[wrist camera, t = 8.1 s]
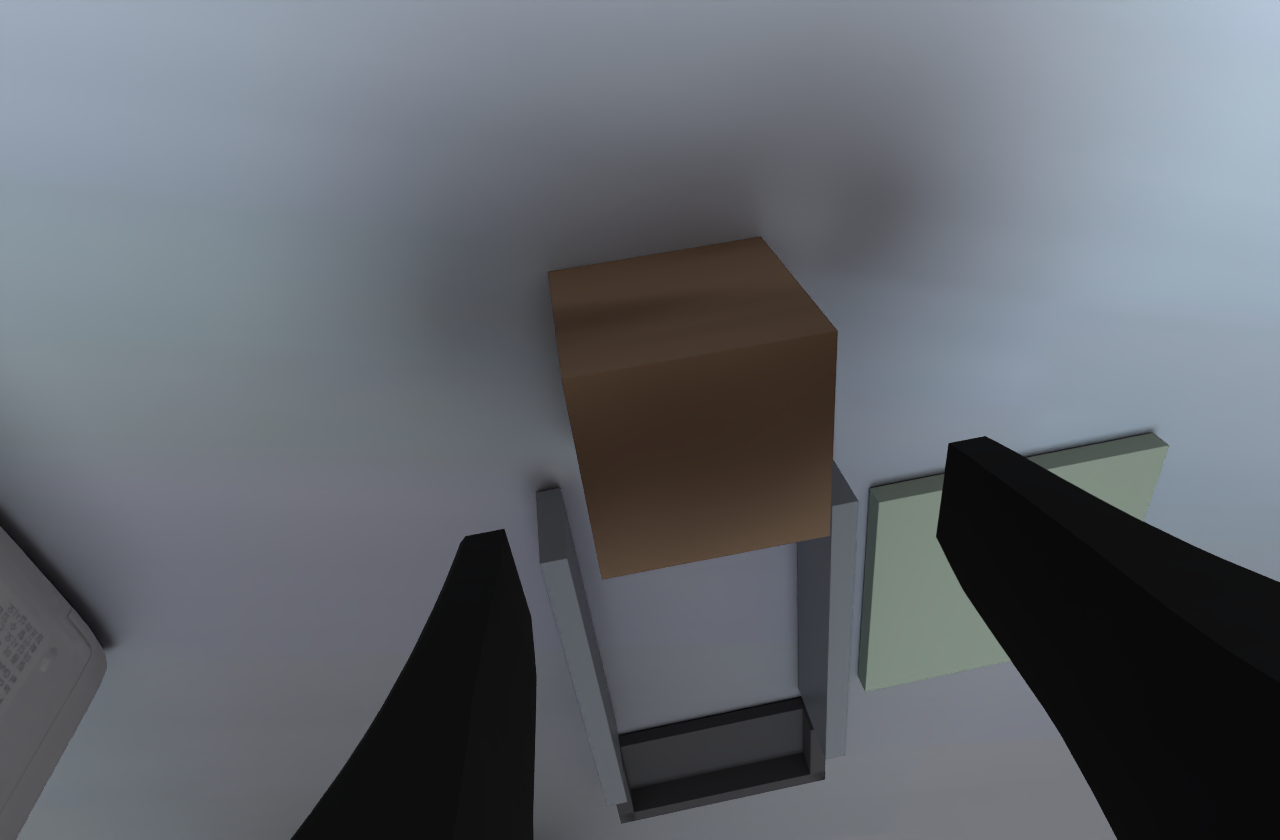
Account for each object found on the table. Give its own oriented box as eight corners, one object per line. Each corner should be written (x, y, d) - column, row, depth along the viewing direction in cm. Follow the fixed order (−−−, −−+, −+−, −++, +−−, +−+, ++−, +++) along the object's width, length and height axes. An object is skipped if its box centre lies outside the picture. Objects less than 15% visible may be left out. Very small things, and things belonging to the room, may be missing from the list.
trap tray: (812, 747, 27) (824, 779, 26) (616, 789, 26) (621, 823, 25) (813, 695, 25) (826, 727, 24) (603, 739, 24) (608, 773, 24)
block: (763, 411, 18) (830, 535, 15) (582, 445, 18) (601, 579, 14) (759, 235, 16) (837, 330, 12) (548, 270, 16) (561, 379, 12)
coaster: (1090, 627, 25) (1102, 641, 25) (857, 676, 25) (865, 691, 24) (1153, 432, 21) (1169, 445, 20) (869, 488, 20) (879, 502, 20)
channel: (816, 685, 25) (845, 754, 23) (598, 730, 24) (607, 806, 22) (819, 437, 19) (858, 500, 17) (536, 492, 19) (540, 563, 17)
